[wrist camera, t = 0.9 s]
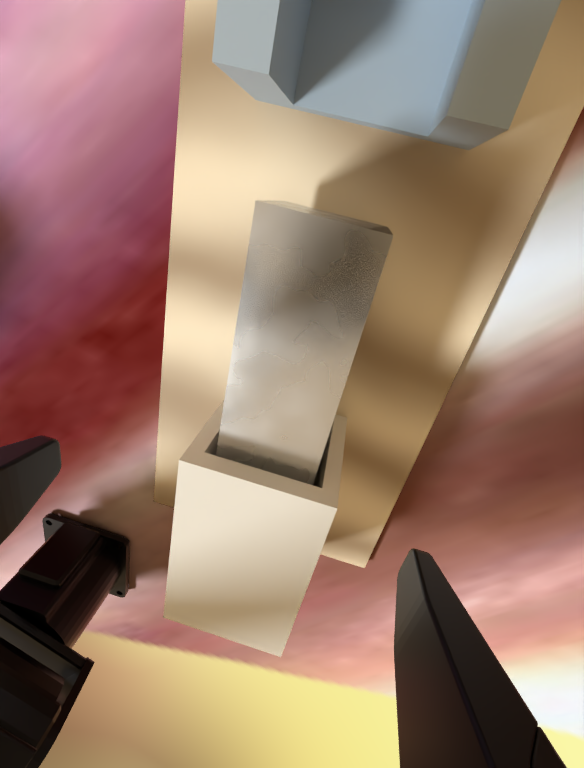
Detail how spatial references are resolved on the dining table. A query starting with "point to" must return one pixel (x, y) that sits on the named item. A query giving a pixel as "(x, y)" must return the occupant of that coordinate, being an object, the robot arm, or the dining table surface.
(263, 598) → the sleeve
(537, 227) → the dining table surface
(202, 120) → the base board
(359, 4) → the socket
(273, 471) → the extension bar
